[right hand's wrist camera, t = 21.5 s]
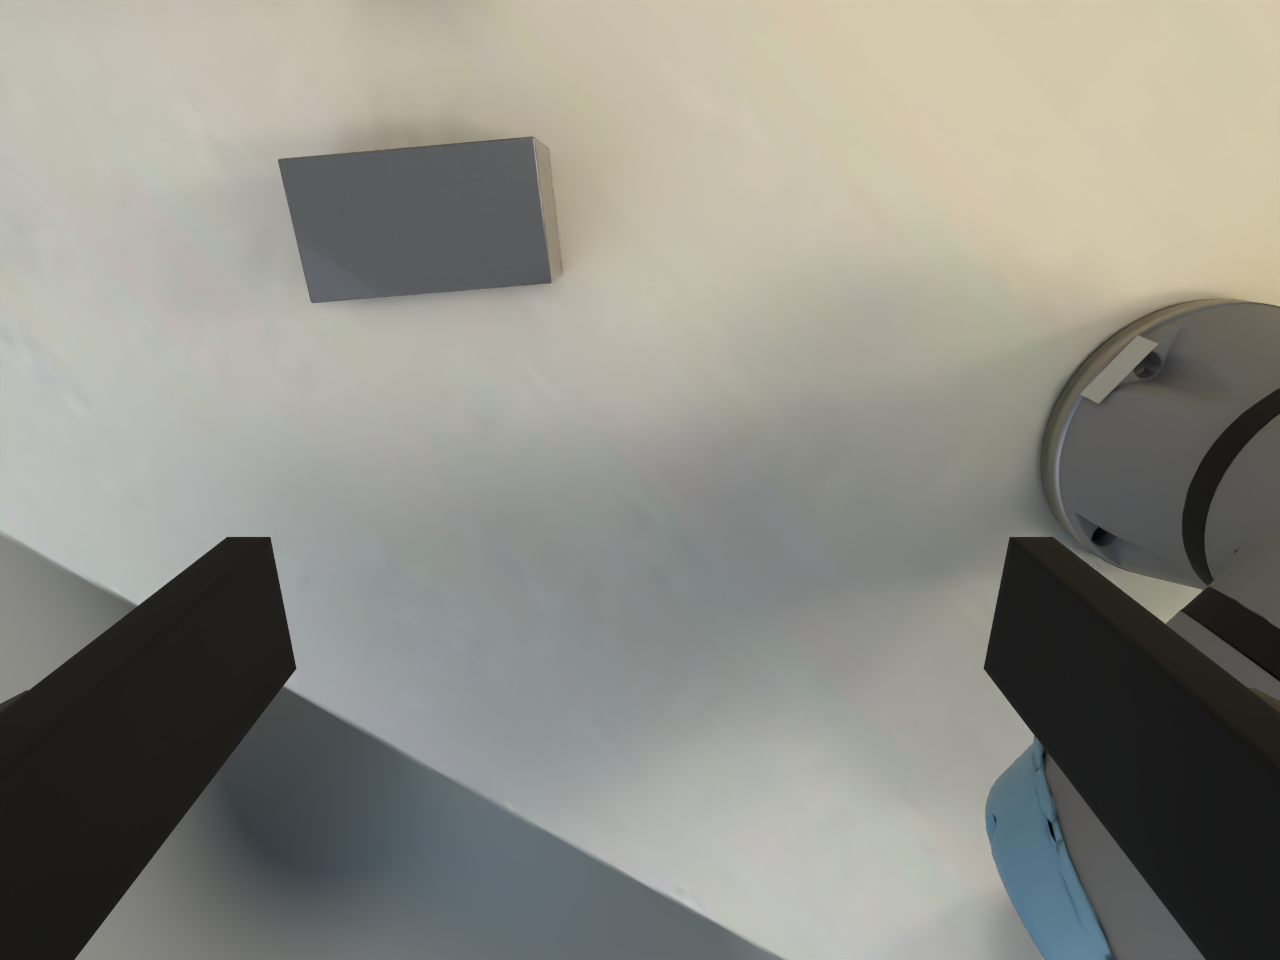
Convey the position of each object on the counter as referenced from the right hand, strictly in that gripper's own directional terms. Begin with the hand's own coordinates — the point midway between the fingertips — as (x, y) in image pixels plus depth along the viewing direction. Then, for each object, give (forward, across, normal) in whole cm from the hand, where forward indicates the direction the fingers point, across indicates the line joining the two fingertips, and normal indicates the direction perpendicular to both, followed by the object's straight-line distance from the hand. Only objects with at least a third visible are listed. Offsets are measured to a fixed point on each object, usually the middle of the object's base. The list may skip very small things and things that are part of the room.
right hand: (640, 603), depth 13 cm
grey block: (+27, +10, -6) cm, 29 cm away
